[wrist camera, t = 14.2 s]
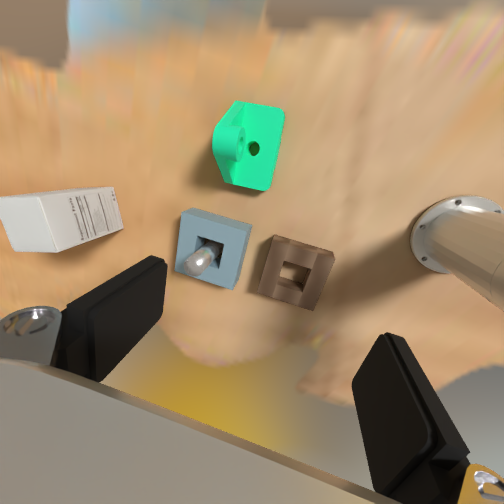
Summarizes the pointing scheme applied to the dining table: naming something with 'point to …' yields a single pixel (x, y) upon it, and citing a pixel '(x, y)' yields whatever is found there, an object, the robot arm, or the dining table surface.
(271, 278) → the walnut mount block
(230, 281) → the socket block
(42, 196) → the supplement box
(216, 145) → the camera mount
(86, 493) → the robot arm
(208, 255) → the steel pin
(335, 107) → the dining table surface
